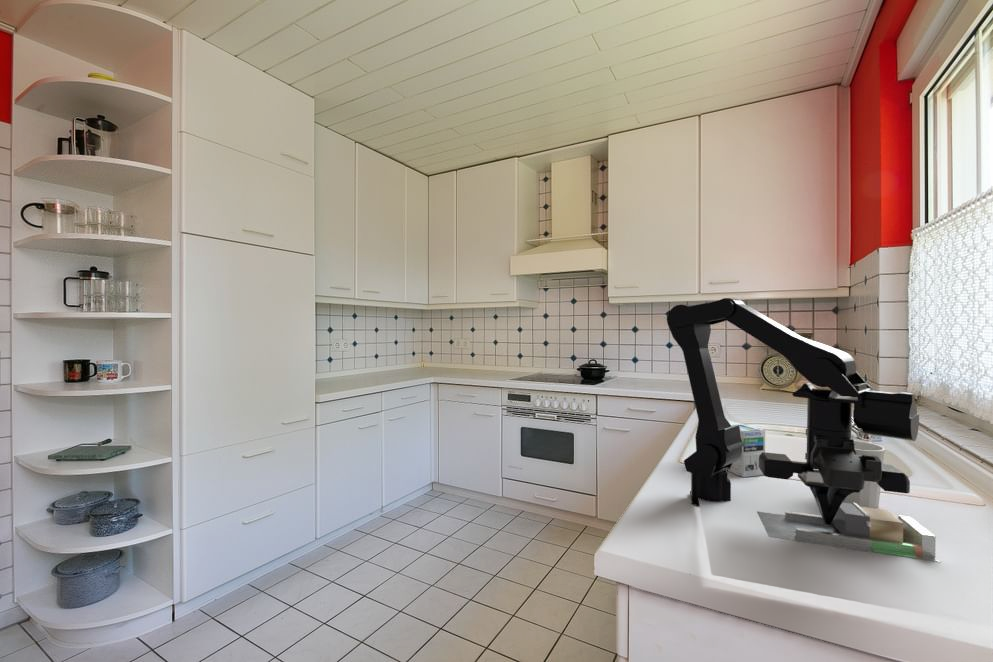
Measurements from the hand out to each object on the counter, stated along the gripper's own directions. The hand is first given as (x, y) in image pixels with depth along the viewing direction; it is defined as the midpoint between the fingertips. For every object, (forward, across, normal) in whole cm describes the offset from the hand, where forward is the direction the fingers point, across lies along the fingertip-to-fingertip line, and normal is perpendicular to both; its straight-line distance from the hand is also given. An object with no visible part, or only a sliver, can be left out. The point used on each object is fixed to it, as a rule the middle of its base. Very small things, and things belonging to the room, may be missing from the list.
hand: (827, 523), depth 71 cm
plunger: (+1, +3, 0) cm, 3 cm away
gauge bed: (+3, +2, 0) cm, 3 cm away
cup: (+3, +10, +17) cm, 20 cm away
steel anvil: (+1, +11, 0) cm, 11 cm away
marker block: (+1, +7, 0) cm, 7 cm away
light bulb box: (+3, -9, +34) cm, 35 cm away
